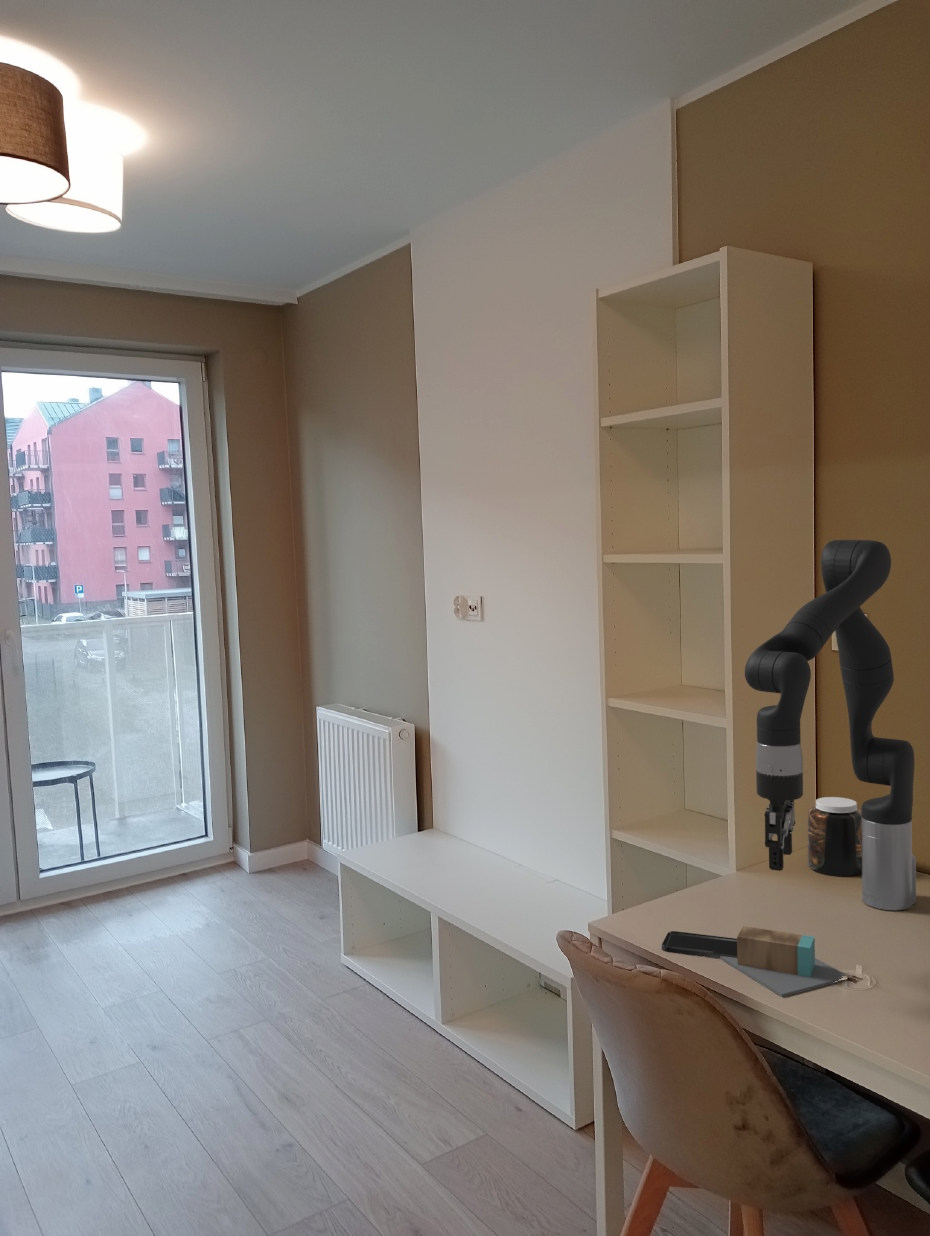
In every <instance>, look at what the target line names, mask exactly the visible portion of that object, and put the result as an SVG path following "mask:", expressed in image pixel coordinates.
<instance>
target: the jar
mask: <svg viewBox="0 0 930 1236" xmlns="http://www.w3.org/2000/svg"><path fill="white" fill-rule="evenodd" d="M861 817H862V816H861V809H859V808H858V802H857V801H855V800H854V799H851V798H847V797H839V796H825V797H820V798H819V797H818V798H817V799H816V800H815V806H812V807H810V808H809V809H808V813H807V860H808V861H807V865H808V867H809V869H810V870H812V871H813V872H816V873H817V874H818V873H819V874H822V875H826V876H832V877H833V876H834V877H855V876H861V875H862V825H861Z"/></svg>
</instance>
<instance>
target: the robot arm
mask: <svg viewBox="0 0 930 1236" xmlns="http://www.w3.org/2000/svg"><path fill="white" fill-rule="evenodd" d="M820 558H821V559H820V571H821V577H822V582H823V586H824V590H825V592H824V593H823V594H820V595H819V596H818V597H815V598H813V599H812V600H810V601H808V602H807V603H806V604H804V605H803V606H802V607H801V608H799V609H798V610H797V611H796V612H795V614H794V615H793V616H792V618H790V620H789V621H788V623H787V624H786V625H785V626H784V627H783V629H782V631H780V632H778V633H777V634H775V635H773V636H771V637H770V638H769V639H768V640H766V641H765V642H763V643H762V644H760V646H758V647H756V649H755V650H754V651H753V652H752V653H751V654H749V655H750V656H749V657H748V658H747V661H746V663H745V667H744V679H745V680H746V683H747V684H748V686H750V688H752V689H753V690H755V691H758V692H764V693H771V694H772V693H773V694H780V697H779V701H778V703H777V704H775V705H769V706H768V705H767V706H763V707H761V708H760V709H758V711H757V714H756V750H755V772H756V773H755V778H756V779H755V780H756V786H755V787H756V794H757V796H759V797H760V798H762V799H767V800H768V801H769V805H768V807H766V810H765V812H764V845H765V848H767V849H768V863H769V864H768V865H769V866H768V868H769V869H770V870H771V871H779V872H781V871H783V870H784V865H785V863H784V861H785V860H784V855H787V856H790V855H792V853H793V832H794V830H795V829H794V827H795V825H796V819H795V817H796V816H795V800H799V799H800V798H802V797H803V796H804V773H803V771H804V770H803V768H804V767H803V761H804V760H803V751H802V744H801V743H802V742H801V741H802V740H801V719H802V718H801V717H802V714H803V710H804V705H805V701H806V697H807V694H808V690H809V686H810V682H811V678H812V673H811V672H812V671H811V666H810V663H809V661H811V660H814V658H816V656H817V655H818V654H819V653H820V651H821V650H822V649H823V647H824V646H825V644H826V643H827V642H828V641H829V639H830V638H831V636H832V635H833V633H834V632H835V637H836V644H837V651H838V659H839V667H840V672H841V674H840V675H841V681H842V684H843V689H844V690H843V691H844V694H845V701H846V708H847V714H848V722H849V723H848V724H849V725H848V726H849V740H850V743H849V744H850V754H851V756H850V757H851V764H852V769H853V773H854V775H855V778H856V779H858V780H859V781H860V782H862V783H867V784H875V785H882V786H890V790H889V791H890V792H889V794H887V795H884V796H879V797H875V798H870V799H867V800H865V801H864V802H862V804H861V806H860V807H861V809H860V810H861V816H862V817H861V825H862V874H861V895H862V896H861V899H862V902H863V903H865V905H867V906H869V907H873V908H875V909H879V910H885V911H902V910H903V911H904V910H907V909H910V908H911V907H912V906H913V904H916V903H917V859H916V856H915V855H914V854H913V828H912V827H913V805H914V804H913V803H914V777H915V751H914V747H913V745H912V744H911V743H910V742H909V741H908V740H904V739H896V738H886V737H878V736H874V735H873V731H872V729H873V728H872V726H873V725H872V722H873V720H874V718H875V715H876V714H877V711H878V710H879V709H880V706H881V705H882V704H883V702H885V700H886V699H887V697H888V694H890V691H891V690H892V686H893V685H894V681H895V676H894V668H893V660H892V654H891V649H890V647H889V644H888V643H887V641H886V640H885V638H884V636H883V634H882V633H881V632H880V631H879V630H878V628H876V626H875V625H874V624H873V622H871V620H870V619H869V618H868V616H867V615H866V614H865V612H864V611H863V610H862V605H864V603H866V601H868V600H869V599H870V598H871V597H872V596H874V594H875V593H877V592H878V591H879V590H880V589H881V588H882V586H883V585H884V584H885V583H886V581H887V580H888V578H889V575H890V573H891V568H892V557H891V552H890V550H889V548H888V546H887V545H885V543H883V542H881V541H878V540H873V539H872V540H870V539H833V540H831V541H829V542H827V543H826V544H825V545H824V547H823V549H822V553H821V556H820ZM773 836H777V840H773Z"/></svg>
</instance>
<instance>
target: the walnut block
mask: <svg viewBox="0 0 930 1236" xmlns="http://www.w3.org/2000/svg"><path fill="white" fill-rule="evenodd" d="M736 939H737V960H738V965H743V966H748V967H754V968H760V969H766V970H772V971H778V972H783V973H789V974H795V975H801V976H807V977H811V974H812V971H813V969H814V966H815V958H816V952H815V951H816V950H815V945H816V944H815V940H816V939H815V936H811V935H805V934H799V933H793V932H791V933H790V932H786V931H785V932H784V931H779V930H772V929H766V928H759V927H752V926H745V925H743V926H742V927H741V930H740V931H739V932H738V934H737V936H736Z"/></svg>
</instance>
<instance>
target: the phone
mask: <svg viewBox="0 0 930 1236" xmlns="http://www.w3.org/2000/svg"><path fill="white" fill-rule="evenodd" d="M661 950H662V952H666V953H674V954H680V953H681V954H680V955H688V956H695V955H697V957H703V956H705V958H712V959H720V956H726V957H734V958H737V938H735V937H726V936H720V935H719V936H718V935H708V934H701V933H694V932H693V933H692V932H684V931H676V930H671V931H668V932H667V933H666V935H665V937H664V939H663V941H662V943H661ZM720 960H721V959H720Z"/></svg>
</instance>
